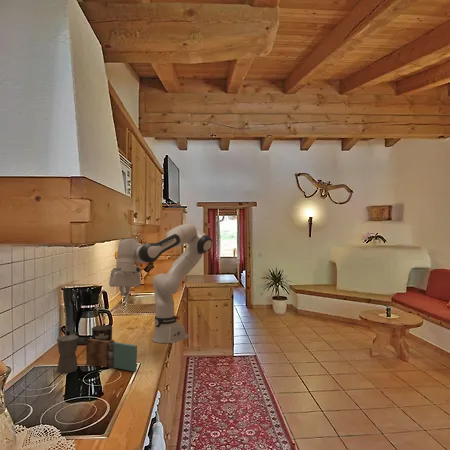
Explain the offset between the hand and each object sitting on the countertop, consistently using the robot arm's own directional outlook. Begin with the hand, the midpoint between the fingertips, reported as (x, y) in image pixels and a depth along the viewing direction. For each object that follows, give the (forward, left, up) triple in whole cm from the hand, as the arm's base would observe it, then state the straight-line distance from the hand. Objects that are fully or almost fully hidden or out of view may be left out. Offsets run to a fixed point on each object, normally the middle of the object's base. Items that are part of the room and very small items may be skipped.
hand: (124, 295), depth 186 cm
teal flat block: (+8, +13, -32) cm, 35 cm away
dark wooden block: (+13, +2, -32) cm, 35 cm away
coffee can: (+6, -12, -32) cm, 35 cm away
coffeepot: (+26, -3, -32) cm, 42 cm away
